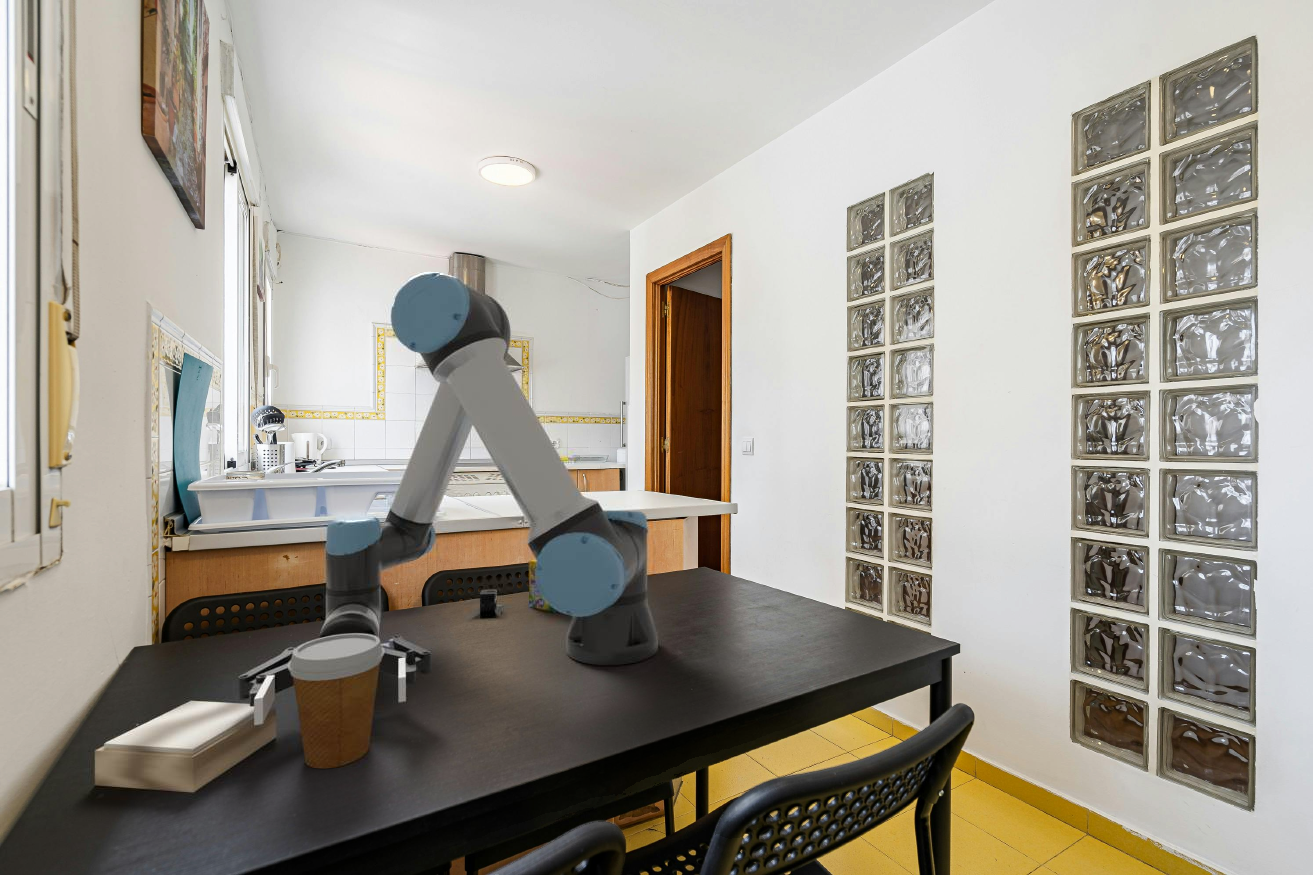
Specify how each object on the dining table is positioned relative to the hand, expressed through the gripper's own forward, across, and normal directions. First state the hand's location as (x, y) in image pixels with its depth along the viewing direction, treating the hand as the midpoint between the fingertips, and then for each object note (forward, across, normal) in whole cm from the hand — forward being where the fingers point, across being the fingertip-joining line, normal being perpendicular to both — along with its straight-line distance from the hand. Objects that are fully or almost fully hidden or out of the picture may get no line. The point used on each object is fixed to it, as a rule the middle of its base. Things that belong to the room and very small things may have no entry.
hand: (333, 700), depth 65 cm
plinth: (-7, +14, -7) cm, 18 cm away
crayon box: (-50, -34, -7) cm, 61 cm away
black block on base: (-52, -23, -8) cm, 58 cm away
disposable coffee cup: (-2, 0, -7) cm, 8 cm away
